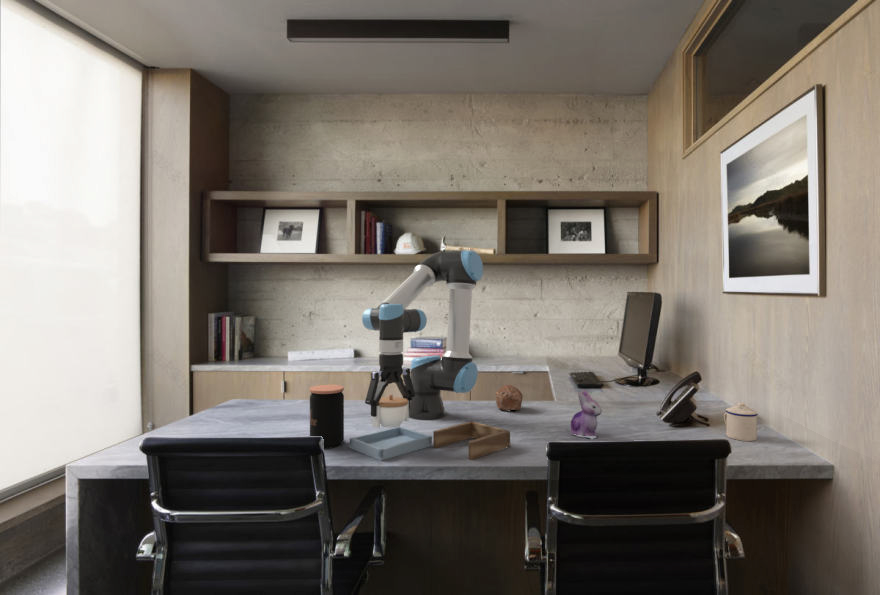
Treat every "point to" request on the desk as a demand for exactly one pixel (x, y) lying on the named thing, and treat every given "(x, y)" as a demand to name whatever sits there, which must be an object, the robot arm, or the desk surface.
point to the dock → (484, 434)
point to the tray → (390, 442)
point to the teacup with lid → (741, 422)
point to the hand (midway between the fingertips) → (390, 423)
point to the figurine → (586, 416)
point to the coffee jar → (327, 414)
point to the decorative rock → (509, 398)
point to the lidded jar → (392, 411)
